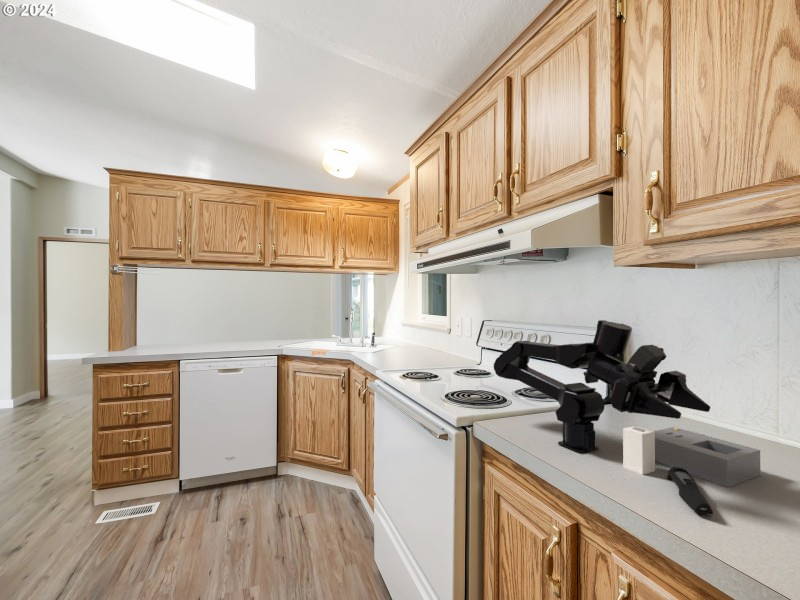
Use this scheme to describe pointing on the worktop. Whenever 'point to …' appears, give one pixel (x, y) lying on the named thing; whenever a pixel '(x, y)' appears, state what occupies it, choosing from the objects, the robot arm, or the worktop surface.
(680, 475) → the electric trimmer
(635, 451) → the block
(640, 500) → the worktop surface
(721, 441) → the block
